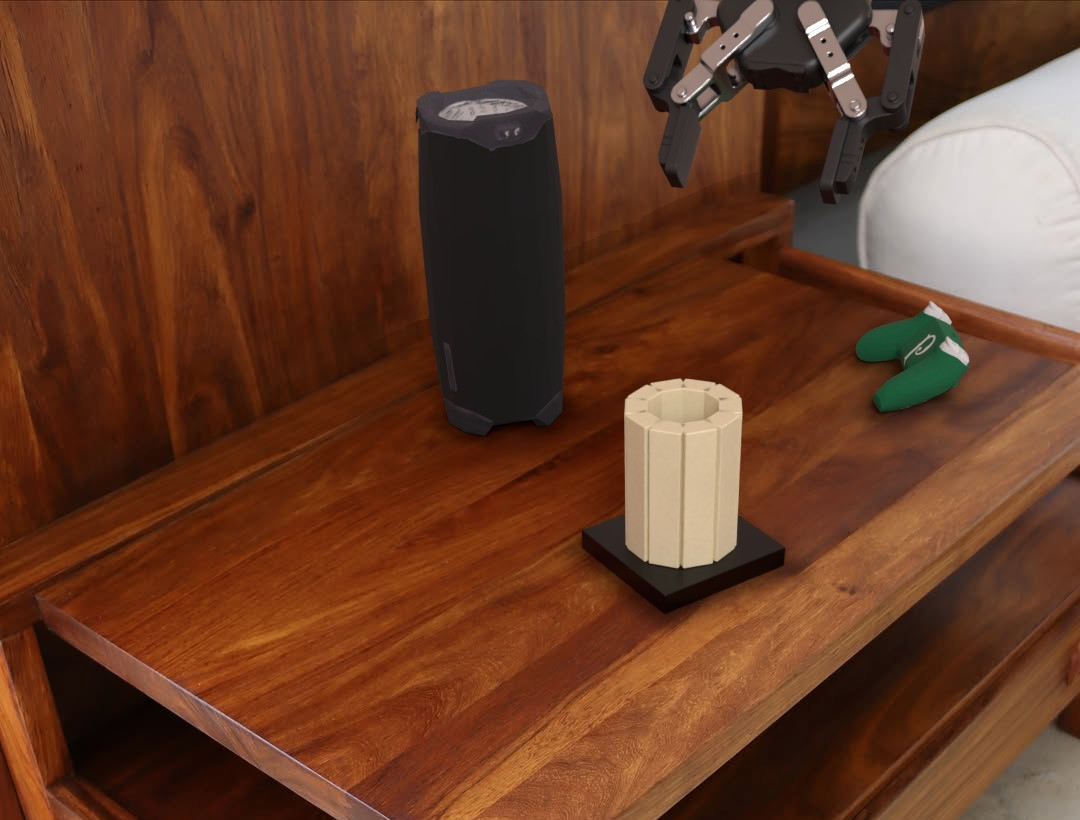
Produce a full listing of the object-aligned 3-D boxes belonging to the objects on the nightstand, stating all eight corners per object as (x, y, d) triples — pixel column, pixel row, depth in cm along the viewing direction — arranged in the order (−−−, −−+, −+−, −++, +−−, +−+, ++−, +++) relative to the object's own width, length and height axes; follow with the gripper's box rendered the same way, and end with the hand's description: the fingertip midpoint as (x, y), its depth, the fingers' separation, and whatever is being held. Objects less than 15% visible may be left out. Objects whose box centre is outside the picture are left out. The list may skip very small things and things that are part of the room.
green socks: (907, 442, 93) (985, 379, 90) (870, 404, 91) (947, 339, 89) (884, 378, 100) (955, 317, 97) (848, 342, 99) (919, 280, 96)
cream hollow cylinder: (691, 498, 83) (694, 368, 78) (759, 545, 79) (767, 411, 74) (603, 530, 81) (601, 399, 76) (669, 581, 77) (670, 445, 72)
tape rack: (696, 504, 85) (699, 391, 80) (784, 565, 79) (792, 447, 75) (581, 547, 82) (578, 432, 77) (664, 614, 76) (665, 494, 72)
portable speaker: (536, 368, 100) (522, 66, 87) (592, 426, 93) (586, 107, 81) (418, 395, 97) (387, 87, 85) (467, 455, 91) (441, 131, 78)
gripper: (683, -147, 77) (606, 142, 76) (954, -142, 72) (875, 167, 72) (713, -57, 84) (642, 208, 84) (961, -47, 79) (889, 235, 79)
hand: (750, 189), depth 78 cm, fingers open, 8 cm apart
